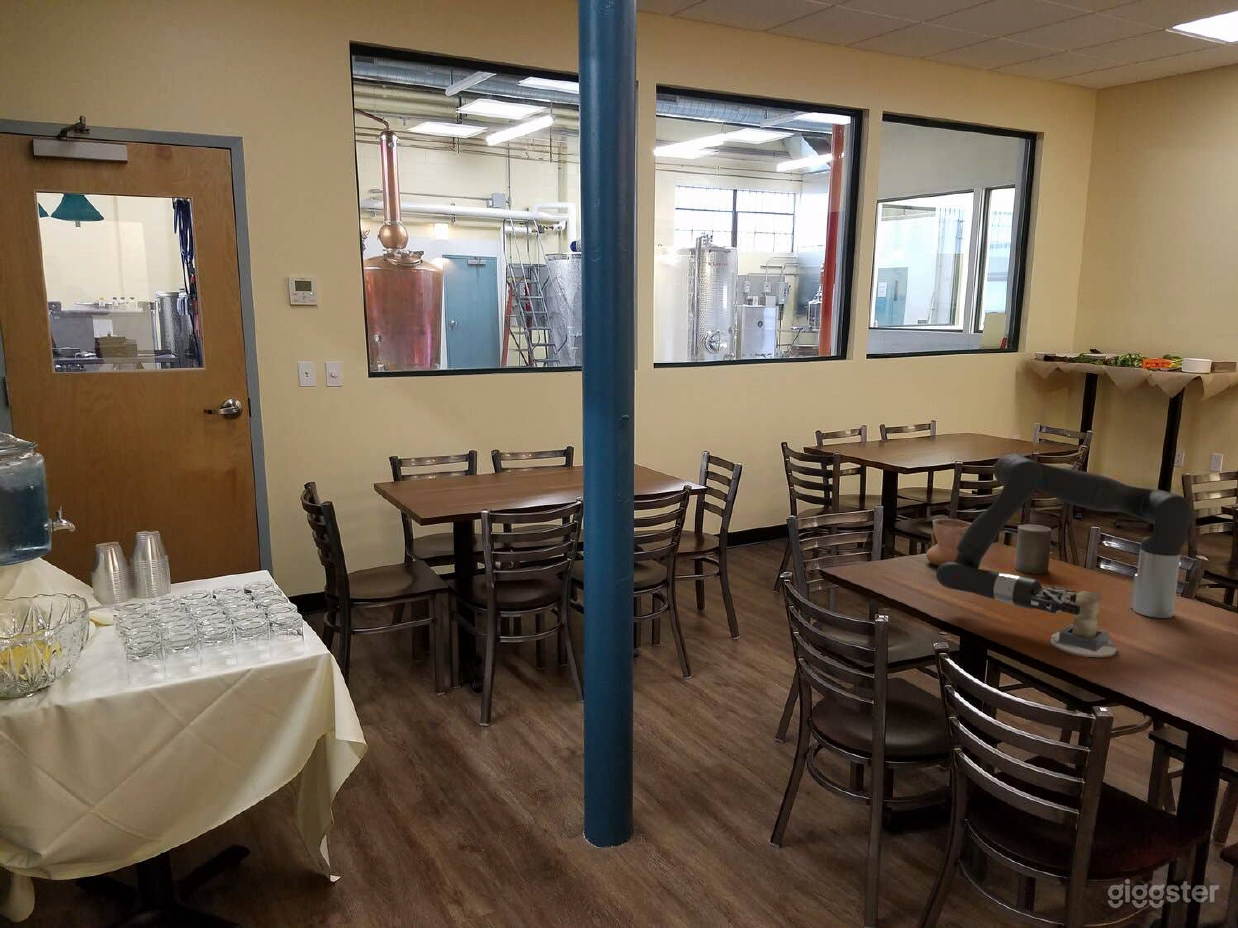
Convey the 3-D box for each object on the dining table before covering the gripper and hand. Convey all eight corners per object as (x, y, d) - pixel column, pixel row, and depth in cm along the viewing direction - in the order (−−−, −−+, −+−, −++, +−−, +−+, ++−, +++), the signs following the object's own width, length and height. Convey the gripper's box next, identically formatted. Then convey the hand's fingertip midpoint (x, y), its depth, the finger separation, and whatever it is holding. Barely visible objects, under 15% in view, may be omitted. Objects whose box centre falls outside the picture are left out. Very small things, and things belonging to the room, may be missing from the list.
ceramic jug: (986, 572, 269) (989, 527, 267) (943, 574, 266) (947, 529, 264) (953, 557, 286) (956, 515, 284) (913, 559, 283) (916, 516, 281)
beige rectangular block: (1071, 641, 209) (1076, 594, 207) (1077, 637, 212) (1082, 590, 210) (1089, 646, 206) (1094, 598, 204) (1095, 642, 209) (1100, 594, 207)
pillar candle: (1055, 573, 268) (1059, 526, 266) (1027, 575, 266) (1032, 527, 264) (1034, 565, 278) (1038, 519, 275) (1007, 566, 275) (1011, 520, 273)
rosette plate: (1041, 645, 210) (1043, 631, 209) (1062, 631, 219) (1064, 617, 219) (1104, 662, 200) (1106, 647, 199) (1123, 647, 209) (1125, 632, 209)
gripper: (1006, 582, 214) (1077, 598, 202) (1029, 570, 223) (1097, 585, 212) (1004, 611, 215) (1073, 628, 204) (1026, 598, 225) (1094, 614, 213)
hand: (1085, 606), depth 208 cm, fingers open, 8 cm apart
